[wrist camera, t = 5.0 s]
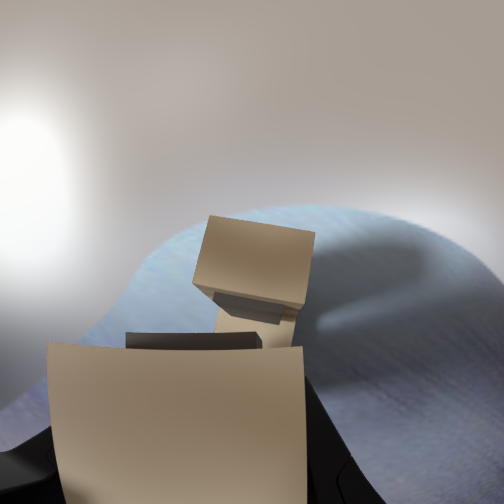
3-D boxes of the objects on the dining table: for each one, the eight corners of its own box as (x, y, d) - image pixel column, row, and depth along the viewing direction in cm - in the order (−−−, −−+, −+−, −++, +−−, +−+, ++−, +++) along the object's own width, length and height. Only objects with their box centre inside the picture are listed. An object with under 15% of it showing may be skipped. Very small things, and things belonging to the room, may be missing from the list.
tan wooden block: (282, 429, 14) (304, 571, 3) (198, 430, 14) (78, 540, 3) (278, 342, 16) (300, 319, 4) (194, 345, 16) (47, 320, 5)
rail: (256, 491, 17) (245, 567, 8) (188, 476, 17) (140, 539, 8) (300, 283, 21) (321, 233, 12) (231, 270, 22) (204, 214, 13)
